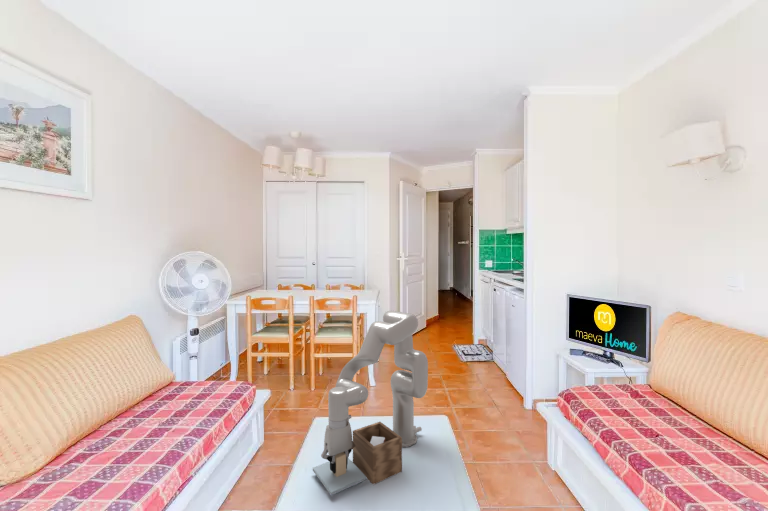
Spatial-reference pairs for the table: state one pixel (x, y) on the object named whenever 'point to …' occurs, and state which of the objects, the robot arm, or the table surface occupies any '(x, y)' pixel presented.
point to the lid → (339, 474)
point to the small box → (377, 440)
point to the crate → (377, 452)
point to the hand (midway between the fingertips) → (338, 468)
